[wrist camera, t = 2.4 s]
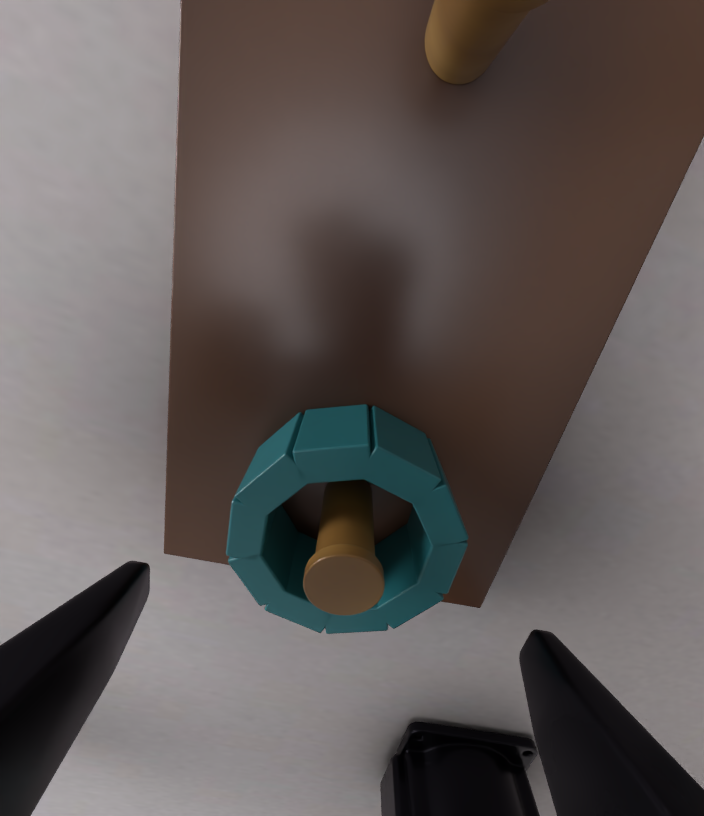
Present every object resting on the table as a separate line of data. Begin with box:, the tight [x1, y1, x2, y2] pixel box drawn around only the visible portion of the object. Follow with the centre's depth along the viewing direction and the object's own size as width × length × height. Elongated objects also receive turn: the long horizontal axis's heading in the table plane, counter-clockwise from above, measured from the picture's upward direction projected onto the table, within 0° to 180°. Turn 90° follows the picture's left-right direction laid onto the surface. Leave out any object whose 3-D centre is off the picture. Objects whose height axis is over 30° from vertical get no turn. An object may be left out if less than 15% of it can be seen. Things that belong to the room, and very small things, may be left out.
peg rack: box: [164, 0, 704, 615], centre depth 9 cm, size 12×20×5 cm, turn 168°
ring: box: [226, 404, 469, 634], centre depth 12 cm, size 6×7×3 cm
